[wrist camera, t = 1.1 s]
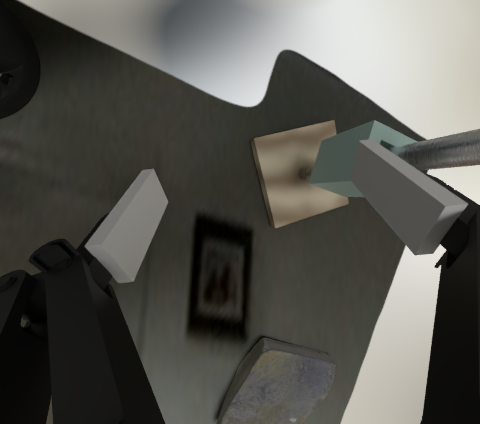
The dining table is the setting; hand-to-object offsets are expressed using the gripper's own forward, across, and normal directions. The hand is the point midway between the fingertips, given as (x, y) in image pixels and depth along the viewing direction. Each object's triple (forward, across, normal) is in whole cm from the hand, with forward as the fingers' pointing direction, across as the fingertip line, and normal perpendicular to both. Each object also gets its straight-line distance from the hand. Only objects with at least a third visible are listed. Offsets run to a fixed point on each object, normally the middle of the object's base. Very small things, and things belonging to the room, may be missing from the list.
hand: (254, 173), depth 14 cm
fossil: (-2, 0, -46) cm, 46 cm away
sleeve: (+13, +11, -8) cm, 19 cm away
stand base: (+20, +8, -12) cm, 25 cm away
